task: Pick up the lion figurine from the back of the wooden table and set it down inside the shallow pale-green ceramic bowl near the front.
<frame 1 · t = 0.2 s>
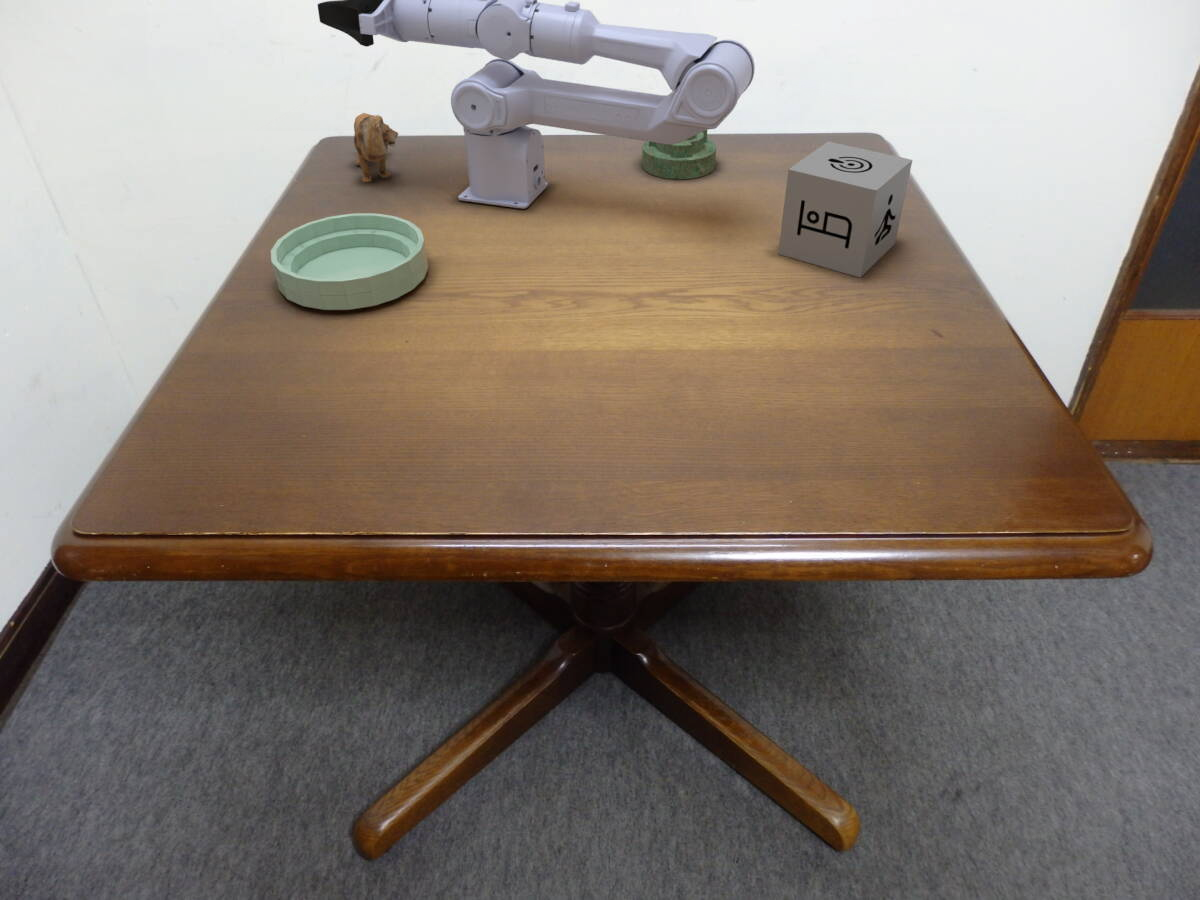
hand: (337, 7, 111), 21 cm above the table, tool horizontal, fingers open, 7 cm apart
lion figurine: (377, 172, 125), on the table
decorative artifact: (678, 166, 126), on the table
icon cube: (836, 250, 105), on the table
bowl: (354, 277, 101), on the table
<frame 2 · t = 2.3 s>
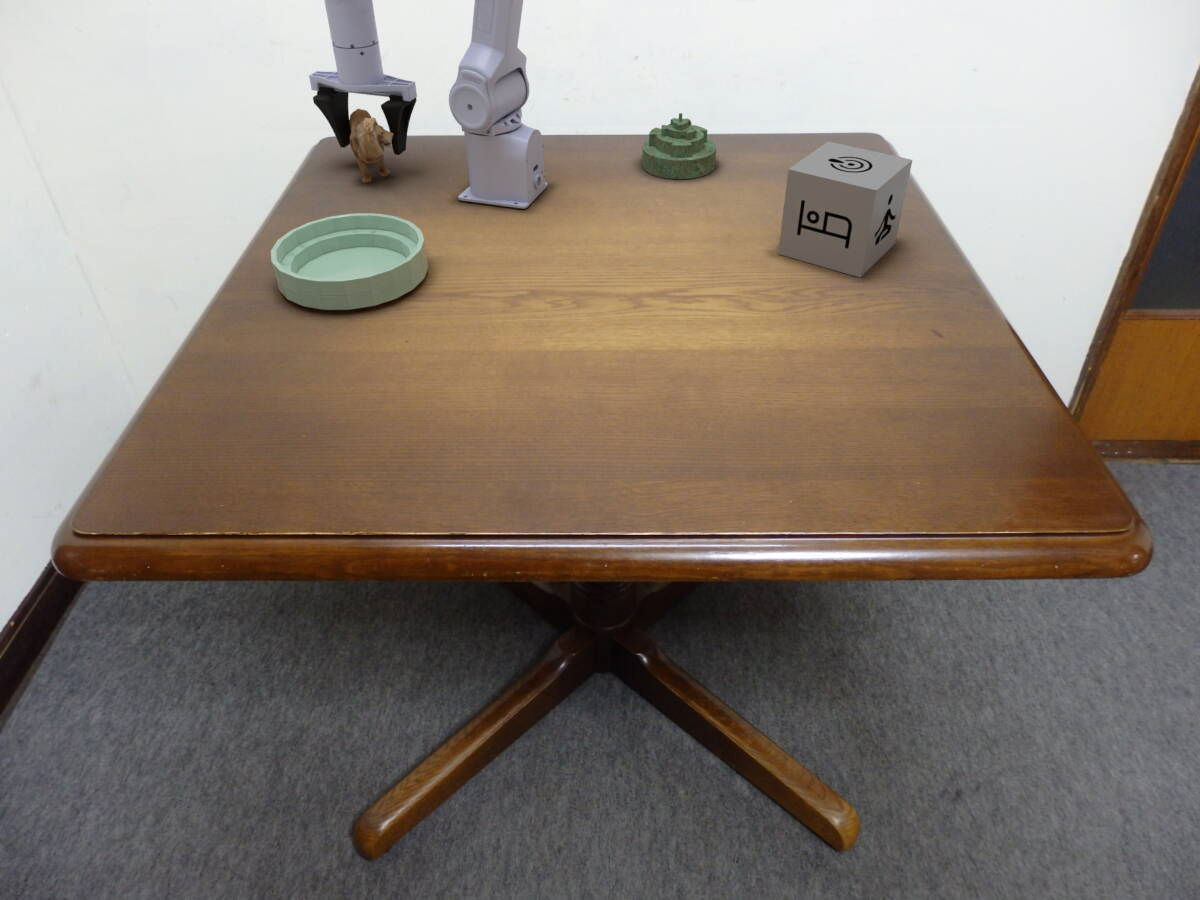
hand: (373, 148, 123), 3 cm above the table, tool pointing down
lion figurine: (377, 168, 125), on the table, touching gripper
everything else where it was.
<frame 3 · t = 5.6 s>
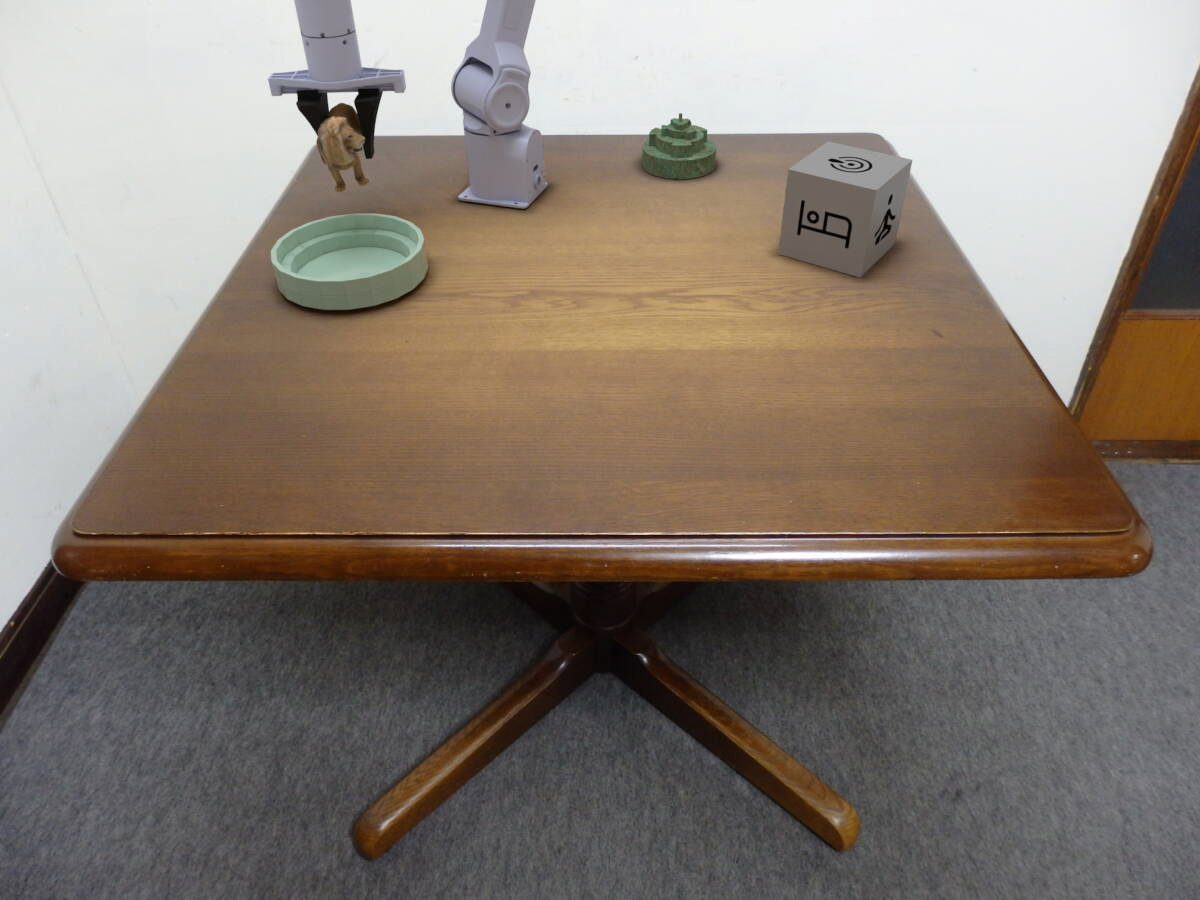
hand: (351, 156, 106), 9 cm above the table, tool pointing down, fingers closed on lion figurine, 4 cm apart
lion figurine: (358, 175, 105), point 7 cm above the table, touching gripper
everything else where it was.
when the fingers open (3 cm above the table, at t = 8.5 s): lion figurine stays where it is, resting on bowl.
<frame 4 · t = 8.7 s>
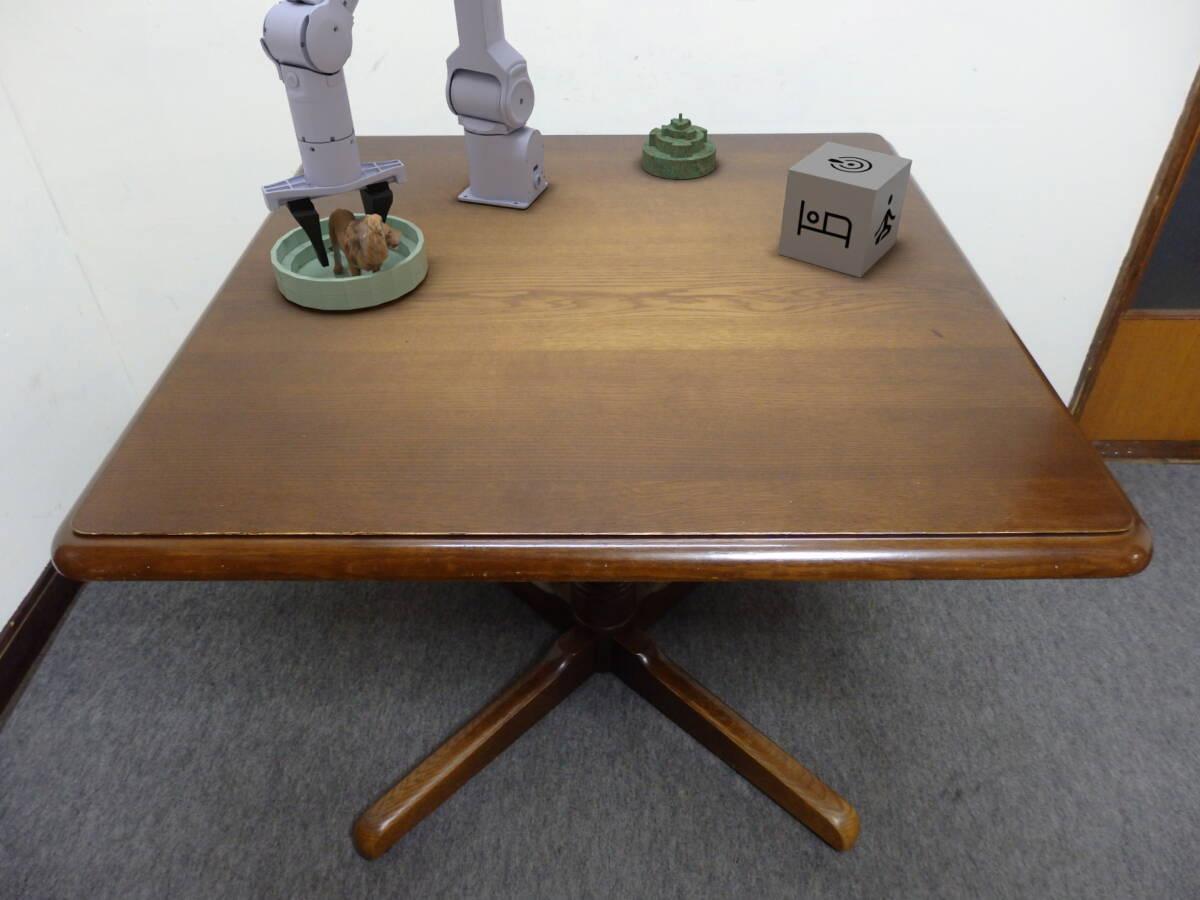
hand: (350, 256, 100), 3 cm above the table, tool pointing down, fingers open, 5 cm apart
lion figurine: (366, 279, 100), resting on bowl, touching gripper
everything else where it was.
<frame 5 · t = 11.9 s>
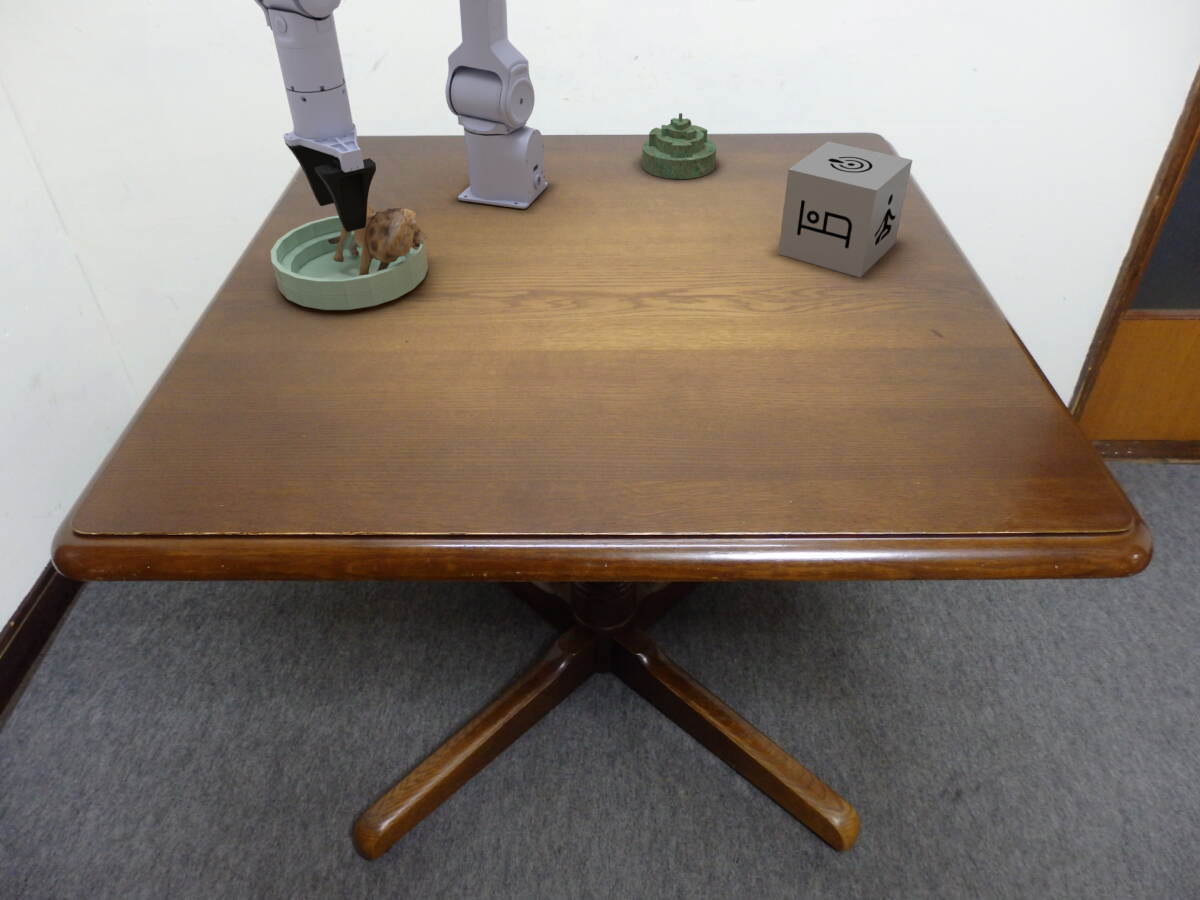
hand: (341, 215, 97), 7 cm above the table, tool pointing down, fingers open, 7 cm apart
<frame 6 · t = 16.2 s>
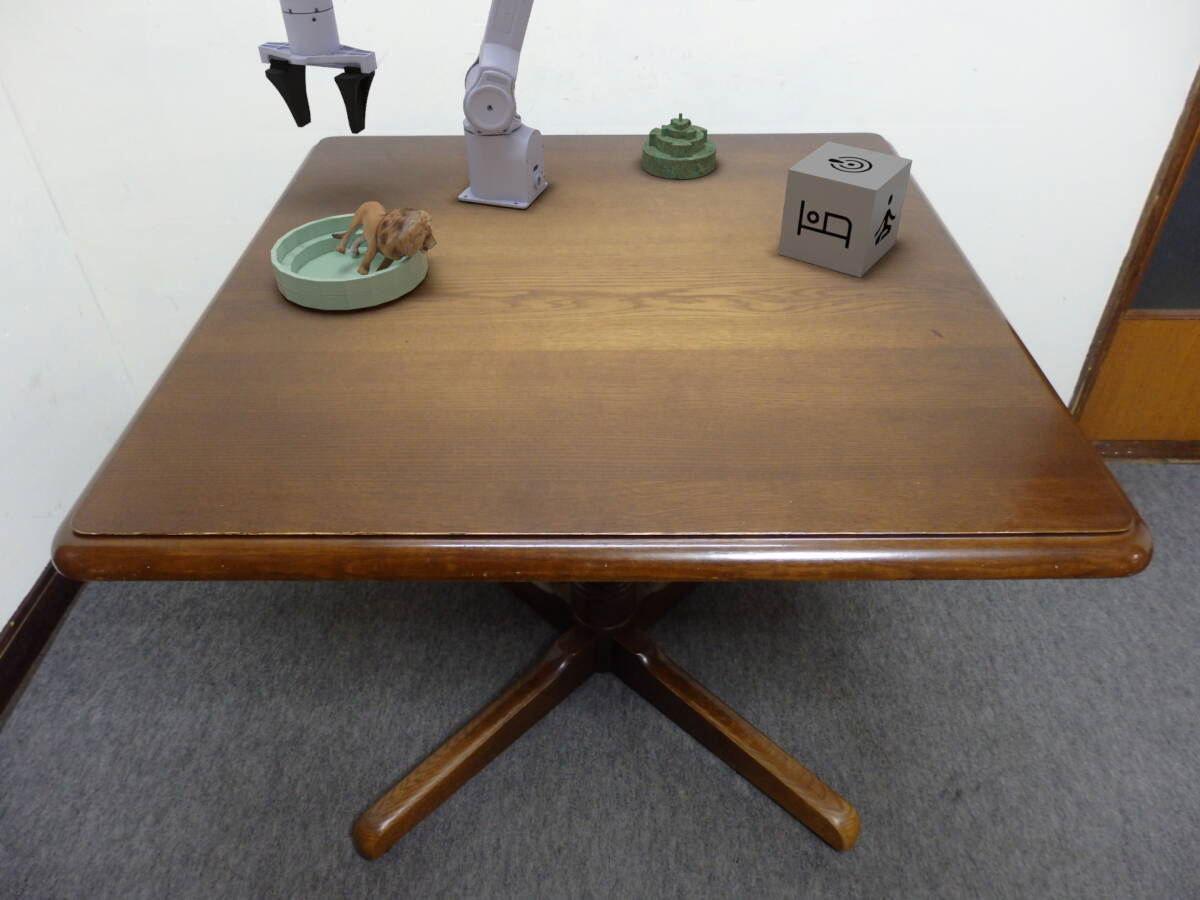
hand: (331, 127, 112), 9 cm above the table, tool pointing down, fingers open, 7 cm apart
lion figurine: (364, 271, 99), point 1 cm above the table, touching bowl
everything else where it was.
at the end: lion figurine inside the target area in the bowl (2.0 cm from its centre), point 1.5 cm above the bowl's base; the gripper is holding nothing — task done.
